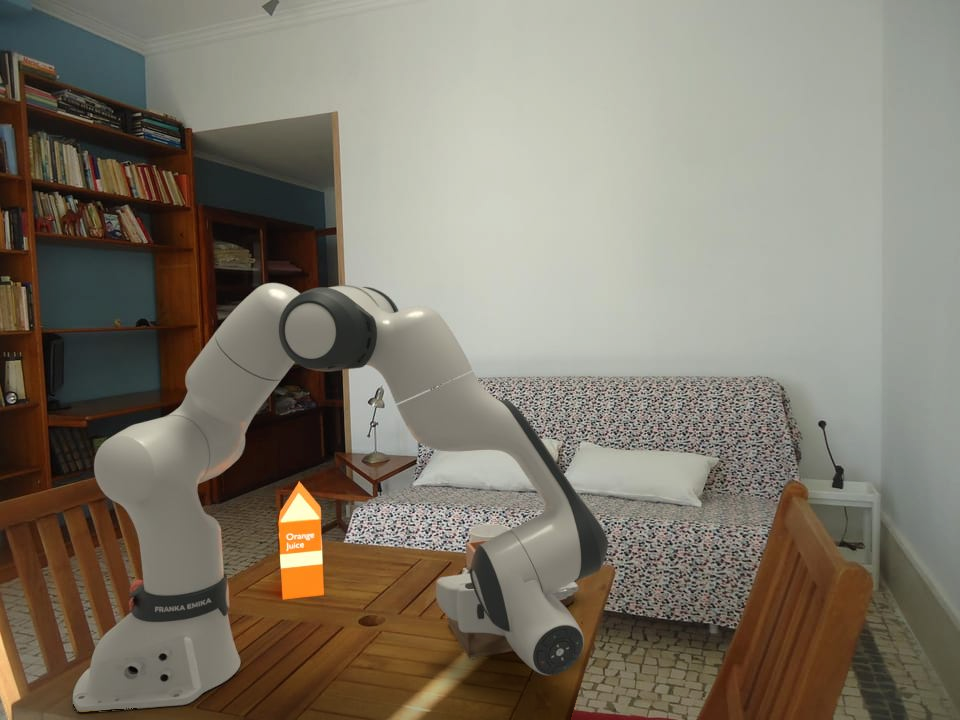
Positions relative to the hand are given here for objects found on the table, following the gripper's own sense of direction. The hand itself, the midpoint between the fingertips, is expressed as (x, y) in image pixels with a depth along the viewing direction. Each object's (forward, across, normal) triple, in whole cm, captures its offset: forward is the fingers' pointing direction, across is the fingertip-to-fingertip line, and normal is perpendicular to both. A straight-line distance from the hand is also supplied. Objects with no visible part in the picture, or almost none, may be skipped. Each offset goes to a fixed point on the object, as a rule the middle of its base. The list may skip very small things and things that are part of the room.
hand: (488, 568), depth 118 cm
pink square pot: (-1, 0, +6) cm, 6 cm away
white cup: (+21, -7, +11) cm, 25 cm away
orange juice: (+30, +28, +11) cm, 43 cm away
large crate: (-1, 0, +11) cm, 11 cm away
